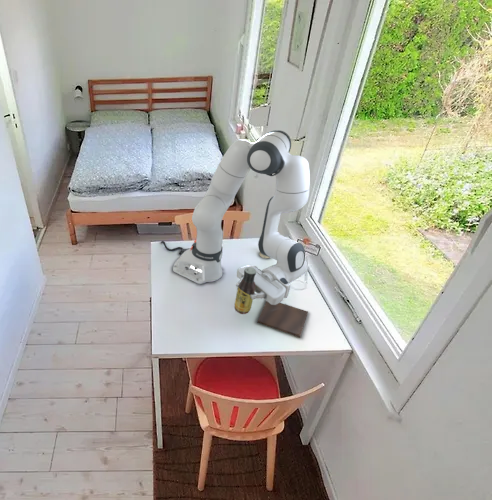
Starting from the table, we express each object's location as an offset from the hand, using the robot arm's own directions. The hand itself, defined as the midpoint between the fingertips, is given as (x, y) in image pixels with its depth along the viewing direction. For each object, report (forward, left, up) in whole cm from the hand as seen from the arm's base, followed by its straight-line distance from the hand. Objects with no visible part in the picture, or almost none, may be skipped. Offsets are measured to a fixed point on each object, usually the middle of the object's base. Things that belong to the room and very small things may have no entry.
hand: (244, 291), depth 140 cm
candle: (-2, +47, -15) cm, 49 cm away
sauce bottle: (0, +1, -10) cm, 10 cm away
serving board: (+15, +9, -15) cm, 23 cm away
